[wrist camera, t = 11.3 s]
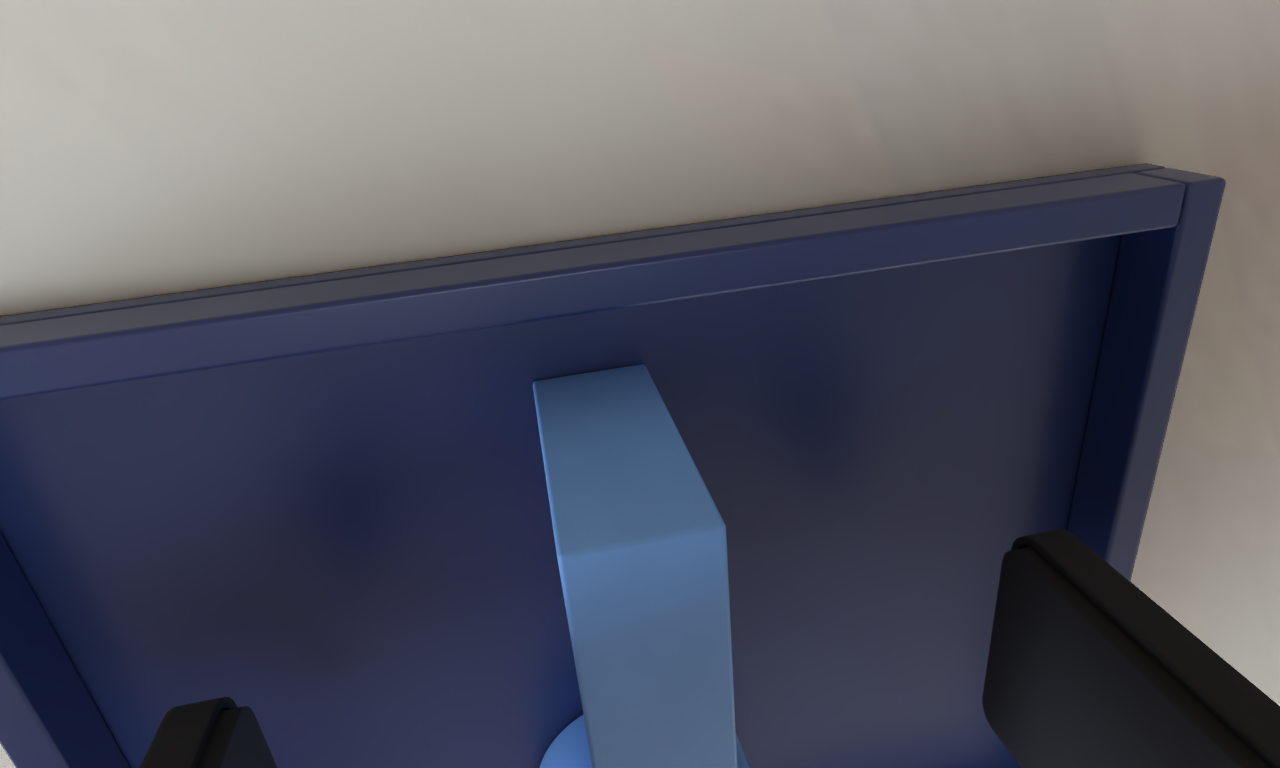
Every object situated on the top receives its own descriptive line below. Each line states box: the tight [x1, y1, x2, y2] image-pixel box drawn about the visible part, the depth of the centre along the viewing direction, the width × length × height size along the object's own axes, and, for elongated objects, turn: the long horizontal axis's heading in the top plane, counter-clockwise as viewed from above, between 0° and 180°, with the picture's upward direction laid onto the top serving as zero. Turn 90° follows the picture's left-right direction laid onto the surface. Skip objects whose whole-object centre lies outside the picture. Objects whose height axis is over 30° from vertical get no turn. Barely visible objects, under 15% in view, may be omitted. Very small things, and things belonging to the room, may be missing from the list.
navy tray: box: [0, 164, 1225, 768], centre depth 12 cm, size 17×14×1 cm
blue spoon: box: [533, 364, 749, 768], centre depth 11 cm, size 10×4×4 cm, turn 5°
